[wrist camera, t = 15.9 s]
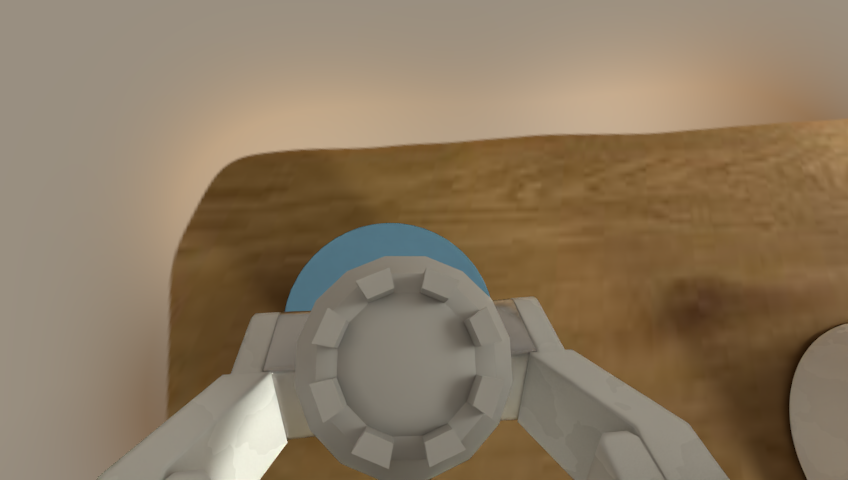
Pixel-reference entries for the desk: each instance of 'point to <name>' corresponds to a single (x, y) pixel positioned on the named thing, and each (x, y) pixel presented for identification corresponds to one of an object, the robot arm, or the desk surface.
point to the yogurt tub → (372, 258)
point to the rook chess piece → (403, 368)
